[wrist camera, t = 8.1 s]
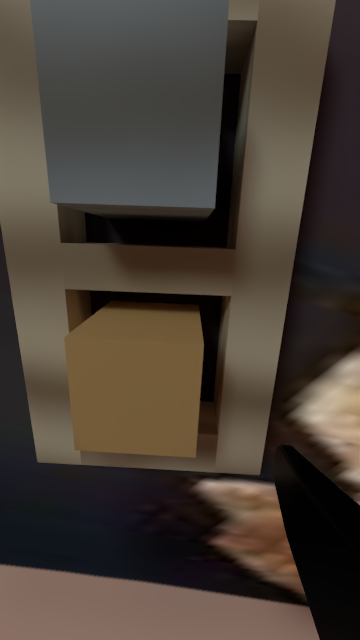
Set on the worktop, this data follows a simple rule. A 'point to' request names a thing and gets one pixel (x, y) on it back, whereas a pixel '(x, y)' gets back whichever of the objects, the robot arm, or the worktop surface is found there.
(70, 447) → the puzzle frame
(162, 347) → the block
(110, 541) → the worktop surface
